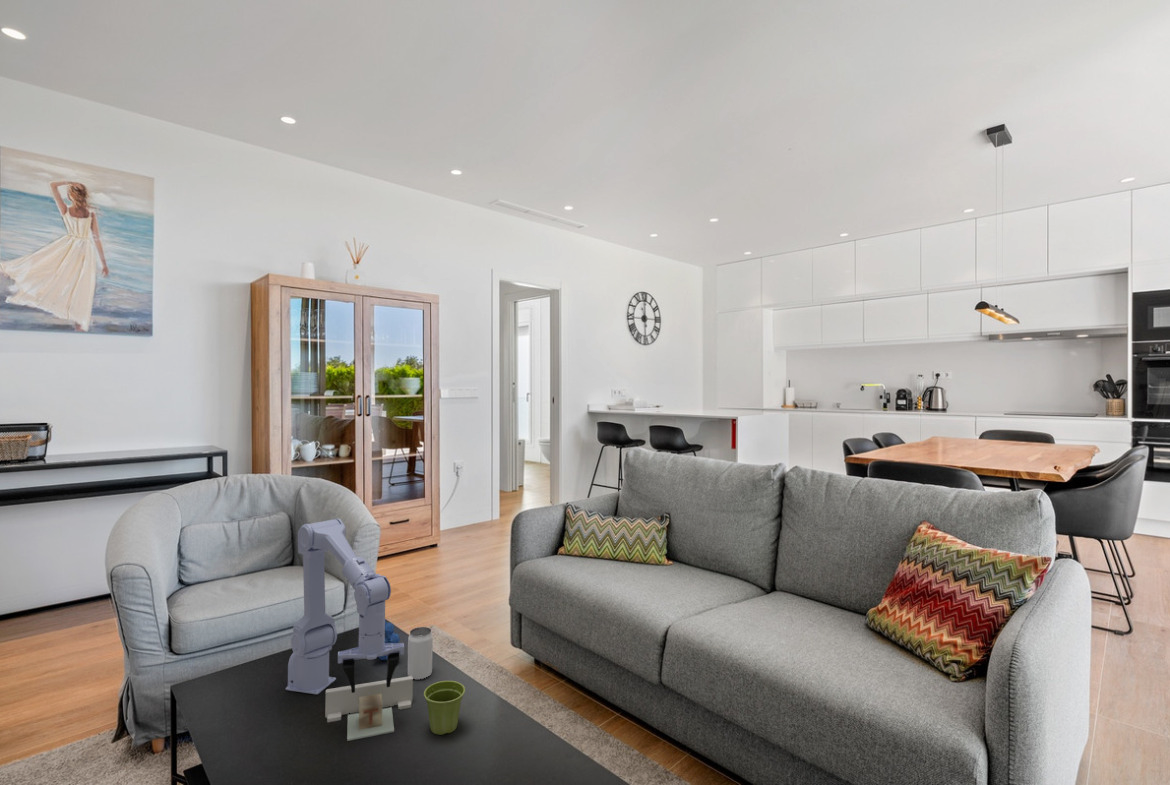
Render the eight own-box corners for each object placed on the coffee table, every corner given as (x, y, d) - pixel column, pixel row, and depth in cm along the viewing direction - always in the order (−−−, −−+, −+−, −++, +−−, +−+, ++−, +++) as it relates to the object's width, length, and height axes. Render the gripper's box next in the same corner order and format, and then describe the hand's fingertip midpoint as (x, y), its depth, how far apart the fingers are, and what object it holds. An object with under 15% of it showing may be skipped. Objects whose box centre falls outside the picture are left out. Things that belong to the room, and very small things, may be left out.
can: (435, 669, 163) (436, 627, 163) (426, 681, 157) (427, 637, 157) (413, 667, 164) (413, 625, 164) (403, 679, 158) (404, 635, 157)
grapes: (357, 661, 167) (357, 620, 166) (375, 652, 173) (375, 612, 172) (387, 671, 162) (388, 628, 161) (405, 661, 168) (406, 619, 167)
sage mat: (347, 740, 131) (347, 739, 131) (347, 716, 140) (347, 714, 140) (394, 732, 134) (394, 730, 134) (391, 708, 144) (391, 707, 144)
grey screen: (324, 722, 137) (325, 697, 137) (326, 709, 143) (326, 684, 143) (413, 707, 144) (413, 683, 144) (411, 694, 150) (411, 671, 150)
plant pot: (471, 720, 139) (472, 684, 139) (450, 743, 130) (451, 705, 130) (438, 712, 142) (438, 677, 142) (414, 734, 134) (415, 697, 133)
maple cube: (359, 730, 134) (359, 708, 134) (358, 717, 139) (359, 697, 139) (382, 726, 136) (382, 704, 136) (381, 714, 141) (381, 693, 140)
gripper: (337, 642, 130) (336, 702, 131) (405, 633, 135) (404, 691, 136) (338, 629, 137) (337, 686, 137) (403, 621, 142) (402, 676, 142)
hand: (370, 687), depth 137 cm, fingers open, 7 cm apart
